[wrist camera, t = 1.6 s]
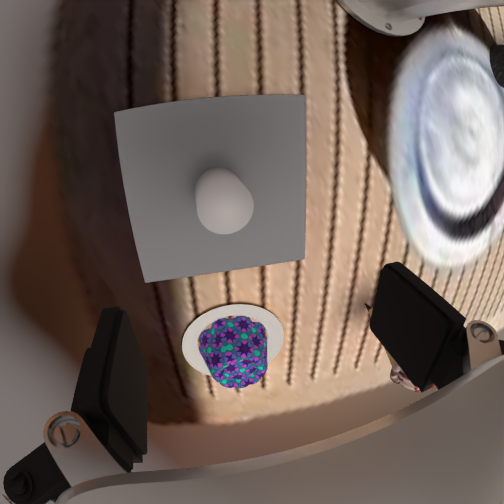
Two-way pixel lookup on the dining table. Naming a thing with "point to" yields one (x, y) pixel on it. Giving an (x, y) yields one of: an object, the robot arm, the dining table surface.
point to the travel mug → (498, 63)
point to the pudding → (233, 344)
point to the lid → (215, 183)
